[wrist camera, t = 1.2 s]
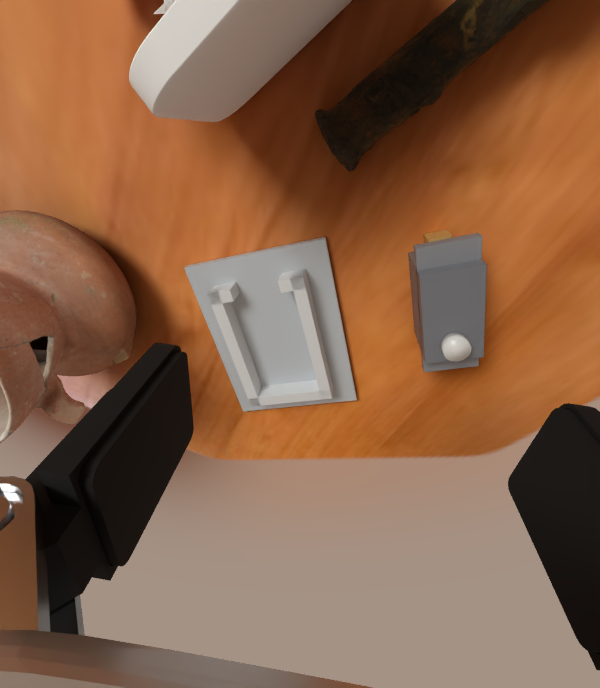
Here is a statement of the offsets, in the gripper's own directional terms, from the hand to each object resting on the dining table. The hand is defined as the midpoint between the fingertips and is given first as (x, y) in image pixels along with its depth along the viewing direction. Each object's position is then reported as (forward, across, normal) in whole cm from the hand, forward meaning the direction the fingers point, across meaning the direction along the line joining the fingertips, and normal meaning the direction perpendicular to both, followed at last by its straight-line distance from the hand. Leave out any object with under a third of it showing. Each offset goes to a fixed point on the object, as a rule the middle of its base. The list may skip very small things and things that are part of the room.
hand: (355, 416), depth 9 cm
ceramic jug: (+21, +25, +8) cm, 33 cm away
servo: (+20, -8, +4) cm, 22 cm away
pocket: (+20, +5, +10) cm, 23 cm away
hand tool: (+21, -4, -12) cm, 24 cm away
